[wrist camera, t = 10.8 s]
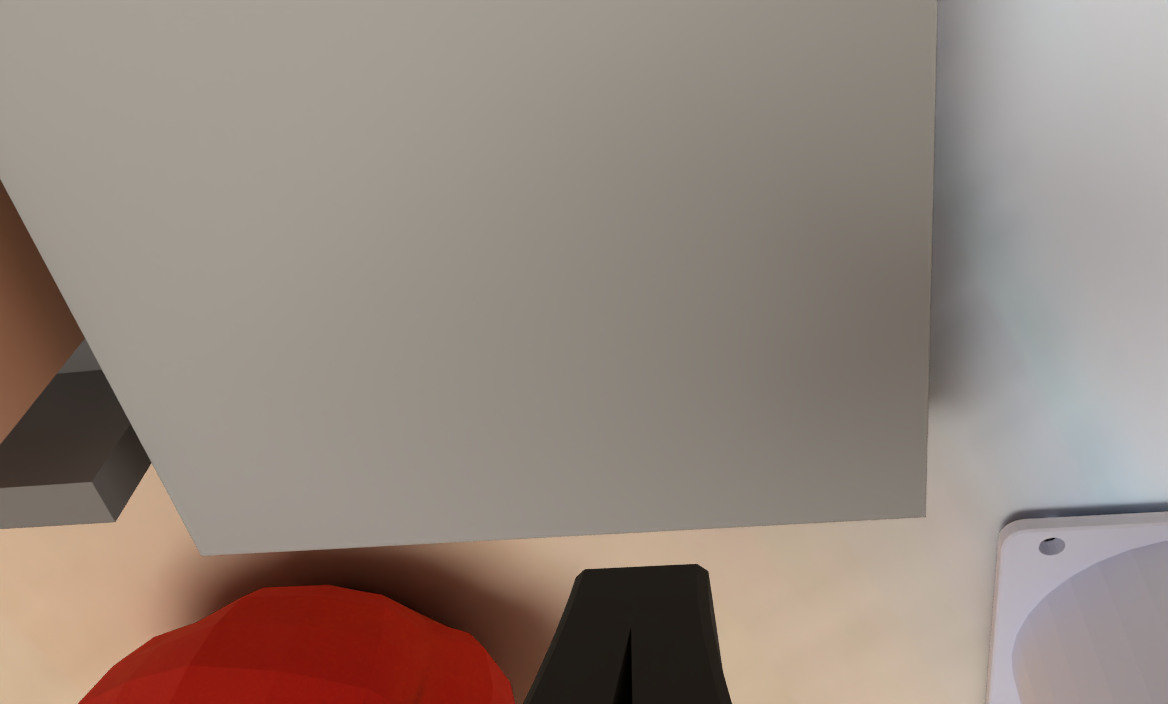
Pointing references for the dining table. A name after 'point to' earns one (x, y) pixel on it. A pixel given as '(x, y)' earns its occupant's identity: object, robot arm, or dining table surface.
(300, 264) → the slate board
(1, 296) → the tile terracotta
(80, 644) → the dining table surface
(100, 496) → the box
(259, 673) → the tomato
